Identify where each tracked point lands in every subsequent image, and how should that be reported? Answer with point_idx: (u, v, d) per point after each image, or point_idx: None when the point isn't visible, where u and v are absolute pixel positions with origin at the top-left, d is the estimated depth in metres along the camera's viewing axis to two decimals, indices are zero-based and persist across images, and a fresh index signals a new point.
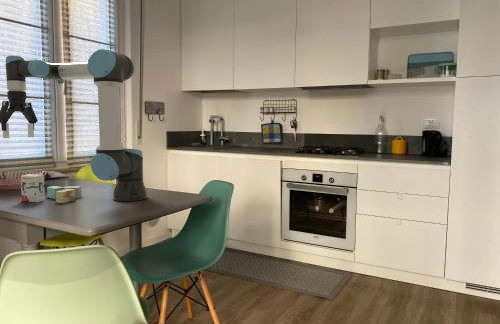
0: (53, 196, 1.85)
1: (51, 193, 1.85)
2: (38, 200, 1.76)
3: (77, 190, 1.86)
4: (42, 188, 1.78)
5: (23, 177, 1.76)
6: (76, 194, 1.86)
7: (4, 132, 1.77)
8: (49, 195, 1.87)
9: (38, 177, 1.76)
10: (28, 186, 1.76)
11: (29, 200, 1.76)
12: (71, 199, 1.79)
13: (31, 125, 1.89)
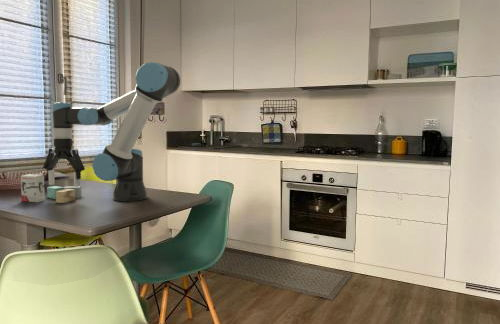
0: (53, 196, 1.85)
1: (51, 193, 1.85)
2: (38, 200, 1.76)
3: (77, 190, 1.86)
4: (42, 188, 1.78)
5: (23, 177, 1.76)
6: (76, 194, 1.86)
7: None
8: (49, 195, 1.87)
9: (38, 177, 1.76)
10: (28, 186, 1.76)
11: (29, 200, 1.76)
12: (71, 199, 1.79)
13: None
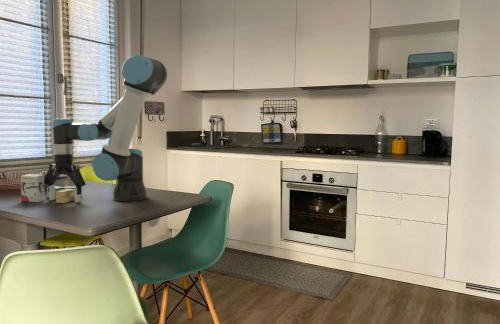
0: None
1: None
2: (38, 200, 1.76)
3: None
4: (42, 188, 1.78)
5: (23, 177, 1.76)
6: None
7: None
8: None
9: (38, 177, 1.76)
10: (28, 186, 1.76)
11: (29, 200, 1.76)
12: (71, 199, 1.79)
13: None
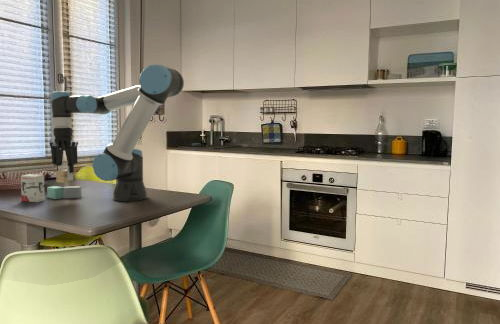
0: (53, 196, 1.85)
1: (51, 193, 1.85)
2: (38, 200, 1.76)
3: (77, 190, 1.86)
4: (42, 188, 1.78)
5: (23, 177, 1.76)
6: (76, 194, 1.86)
7: None
8: (49, 195, 1.87)
9: (38, 177, 1.76)
10: (28, 186, 1.76)
11: (29, 200, 1.76)
12: None
13: None
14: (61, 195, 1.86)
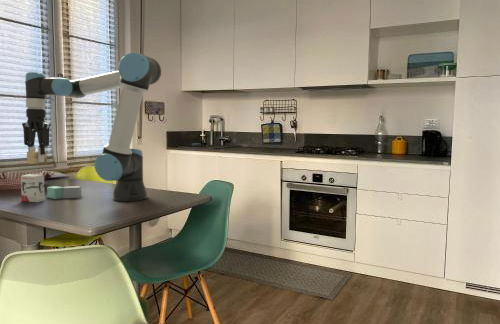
0: (53, 196, 1.85)
1: (51, 193, 1.85)
2: (38, 200, 1.76)
3: (77, 190, 1.86)
4: (42, 188, 1.78)
5: (23, 177, 1.76)
6: (76, 194, 1.86)
7: None
8: (49, 195, 1.87)
9: (38, 177, 1.76)
10: (28, 186, 1.76)
11: (29, 200, 1.76)
12: None
13: None
14: (61, 195, 1.86)
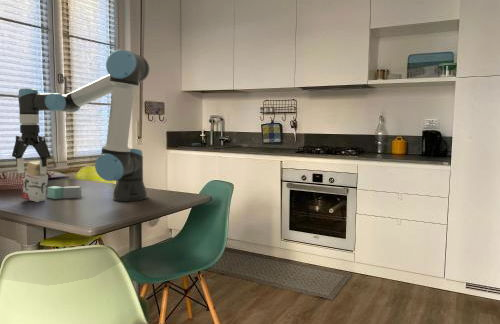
0: (53, 196, 1.85)
1: (51, 193, 1.85)
2: (38, 200, 1.76)
3: (77, 190, 1.86)
4: (44, 188, 1.78)
5: (27, 175, 1.75)
6: (76, 194, 1.86)
7: None
8: (49, 195, 1.87)
9: (43, 177, 1.75)
10: (31, 184, 1.75)
11: (29, 198, 1.76)
12: None
13: None
14: (61, 195, 1.86)
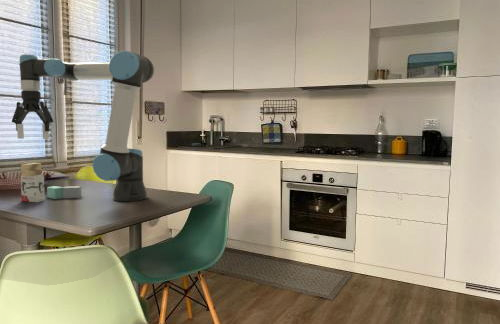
0: (53, 196, 1.85)
1: (51, 193, 1.85)
2: (38, 200, 1.76)
3: (77, 190, 1.86)
4: (42, 188, 1.78)
5: (23, 177, 1.76)
6: (76, 194, 1.86)
7: None
8: (49, 195, 1.87)
9: (38, 177, 1.76)
10: (28, 186, 1.76)
11: (29, 200, 1.76)
12: (37, 173, 1.78)
13: None
14: (61, 195, 1.86)
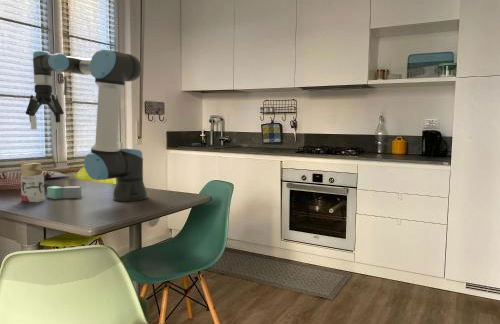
0: (53, 196, 1.85)
1: (51, 193, 1.85)
2: (38, 200, 1.76)
3: (77, 190, 1.86)
4: (42, 188, 1.78)
5: (23, 177, 1.76)
6: (76, 194, 1.86)
7: None
8: (49, 195, 1.87)
9: (38, 177, 1.76)
10: (28, 186, 1.76)
11: (29, 200, 1.76)
12: (37, 173, 1.78)
13: None
14: (61, 195, 1.86)
